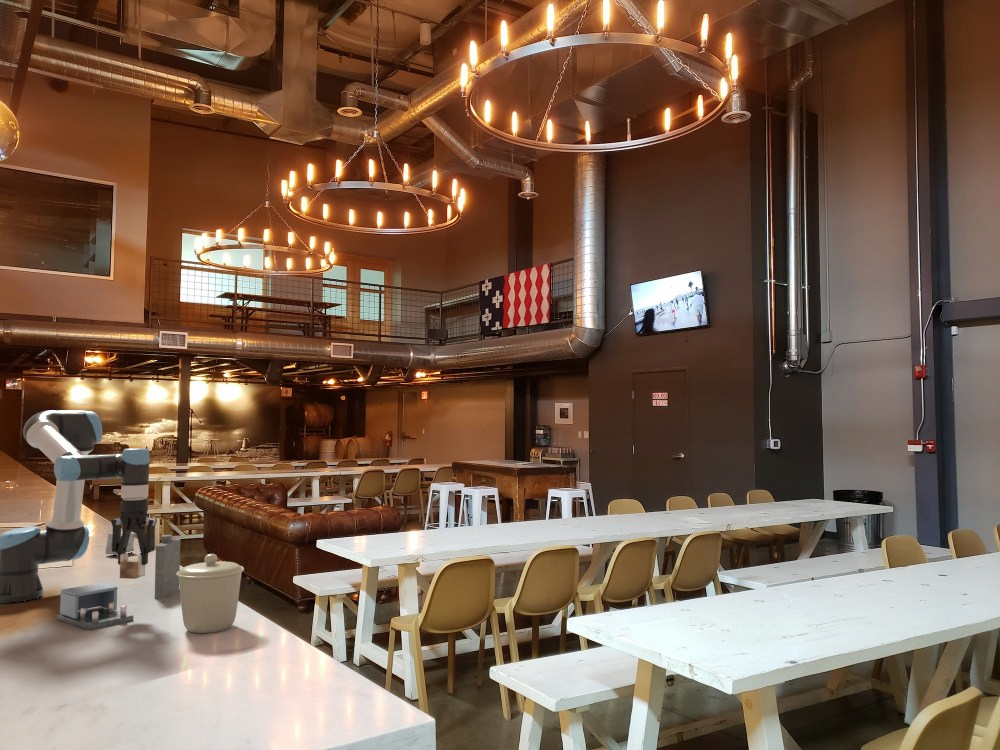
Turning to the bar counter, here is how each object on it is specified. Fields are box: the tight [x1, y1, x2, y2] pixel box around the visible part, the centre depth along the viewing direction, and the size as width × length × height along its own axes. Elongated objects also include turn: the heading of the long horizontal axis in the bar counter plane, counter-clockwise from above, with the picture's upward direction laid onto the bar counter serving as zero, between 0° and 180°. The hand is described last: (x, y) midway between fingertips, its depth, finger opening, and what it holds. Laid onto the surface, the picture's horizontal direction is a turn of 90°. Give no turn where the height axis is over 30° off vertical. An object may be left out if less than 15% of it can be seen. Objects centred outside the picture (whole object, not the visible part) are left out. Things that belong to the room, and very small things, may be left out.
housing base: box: [56, 602, 134, 631], centre depth 218 cm, size 20×13×4 cm, turn 53°
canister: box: [176, 553, 245, 634], centre depth 208 cm, size 18×18×21 cm
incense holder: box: [105, 530, 137, 556], centre depth 331 cm, size 10×8×10 cm
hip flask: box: [154, 534, 181, 599], centre depth 254 cm, size 16×4×20 cm, turn 3°
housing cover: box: [59, 582, 118, 618], centre depth 221 cm, size 10×12×7 cm
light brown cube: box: [119, 558, 146, 580], centre depth 222 cm, size 5×5×5 cm
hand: (132, 575), depth 222 cm, fingers closed on light brown cube, 5 cm apart
